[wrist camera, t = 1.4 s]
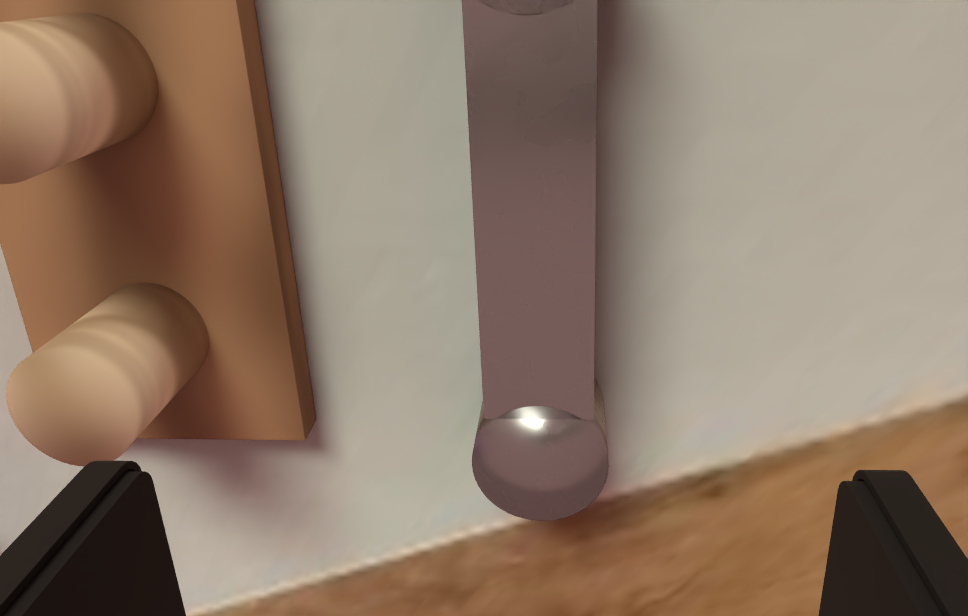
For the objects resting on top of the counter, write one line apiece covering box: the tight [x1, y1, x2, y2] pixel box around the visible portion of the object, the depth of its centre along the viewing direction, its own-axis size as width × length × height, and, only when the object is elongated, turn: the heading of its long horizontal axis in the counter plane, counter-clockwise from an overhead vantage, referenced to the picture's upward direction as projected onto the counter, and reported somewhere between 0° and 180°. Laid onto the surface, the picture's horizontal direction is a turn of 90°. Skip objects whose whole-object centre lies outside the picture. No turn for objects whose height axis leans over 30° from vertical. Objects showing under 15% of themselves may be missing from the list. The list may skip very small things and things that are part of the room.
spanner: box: [462, 0, 609, 521], centre depth 26 cm, size 5×21×4 cm, turn 3°
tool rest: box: [0, 0, 316, 466], centre depth 26 cm, size 10×18×7 cm, turn 3°
